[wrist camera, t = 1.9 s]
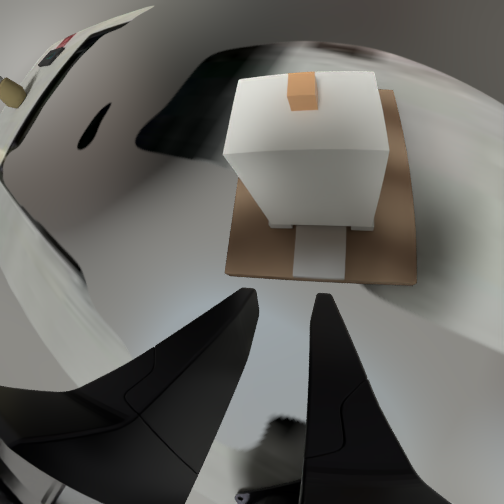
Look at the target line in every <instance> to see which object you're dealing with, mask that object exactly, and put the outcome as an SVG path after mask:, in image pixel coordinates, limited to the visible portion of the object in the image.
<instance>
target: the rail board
mask: <svg viewBox="0 0 504 504" xmlns="http://www.w3.org/2000/svg"><path fill="white" fill-rule="evenodd" d="M378 91H379V95H380V100H381V105H382V109H383V115H384V120H385V125H386V131H387V137H388V144H389V156H388V161H387V165H386V170H385V175H384V179H383V183H382V188H381V192H380V196H379V200H378V204H377V208H376V212H375V216H374V229H373V231H363V230H351V226H328V225H293V228H271V227H270V226H269V220H268V219H267V217H266V216H265V214H264V213H263V211H262V210H261V208H260V207H259V206H258V204H257V203H256V201H255V200H254V198H253V197H252V195H251V194H250V192H249V191H248V190H247V188H246V187H245V185H244V184H243V182H242V181H241V179H240V178H239V177H238V183H237V190H236V196H235V203H234V210H233V217H232V224H231V231H230V238H229V245H228V252H227V260H226V267H225V274H227V275H229V276H237V277H250V278H265V279H281V280H297V281H315V282H335V283H356V284H380V285H410V286H413V285H414V284H416V283H417V254H416V230H415V216H414V204H413V194H412V186H411V178H410V171H409V164H408V158H407V152H406V146H405V141H404V135H403V130H402V126H401V121H400V117H399V112H398V108H397V104H396V100H395V96H394V92H393V90H383V89H378Z"/></svg>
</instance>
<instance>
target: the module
mask: <svg viewBox="0 0 504 504" xmlns="http://www.w3.org/2000/svg"><path fill="white" fill-rule="evenodd" d="M223 155H224V157H225V158H226V159H227V161H228V162H229V164H230V165H231V167H232V168H233V169H234V171H235V172H236V174H237V175H238V177H239V178H240V179H241V181H242V182H243V184H244V185H245V187H246V188H247V190H248V191H249V192H250V194H251V195H252V197H253V198H254V200H255V201H256V203H257V204H258V206H259V207H260V208H261V210H262V211H263V213H264V214H265V216H266V217H267V219H268V220H269V226H270V227H271V228H293V225H328V226H351V230H363V231H373V229H374V216H375V212H376V208H377V204H378V200H379V196H380V192H381V188H382V183H383V179H384V175H385V170H386V165H387V161H388V156H389V144H388V137H387V131H386V125H385V120H384V115H383V109H382V105H381V100H380V95H379V91H378V86H377V82H376V78H375V74H374V72H365V71H325V72H301V73H288V74H279V75H270V76H262V77H254V78H247V79H240V80H239V81H238V86H237V90H236V94H235V99H234V103H233V108H232V113H231V117H230V122H229V127H228V132H227V137H226V142H225V147H224V152H223Z"/></svg>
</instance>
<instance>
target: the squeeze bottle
mask: <svg viewBox="0 0 504 504" xmlns="http://www.w3.org/2000/svg"><path fill="white" fill-rule="evenodd" d="M2 79H3V78H2V77H1V76H0V99H1V100H2V101H3V102H4V103H5V104H6V105H7V106H8V107H12V108H18V107H19V106H20V105H21V104H22V102H23V101H24V99H25V97H26V93H25V91H24V89H23V87H22V86H20V85H18V84H17V83H15V82H13V81H12V80H10V79H8V78H4V79H3V80H2Z"/></svg>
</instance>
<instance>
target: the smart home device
mask: <svg viewBox="0 0 504 504" xmlns="http://www.w3.org/2000/svg"><path fill="white" fill-rule="evenodd" d="M63 50H64V48H63V47H61V48H58V49H54V50H51V51H50V52H49V53H48V54H47V55H46V56H45V57H44V59H43V60H42V61H41V62H40V63H39V64H38V66H39V67H42V66H48V65H51V64H52V62H53V61H54V60H55V59H56V58H57V57H58V56H59V55H60V53H61V52H62V51H63Z"/></svg>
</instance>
